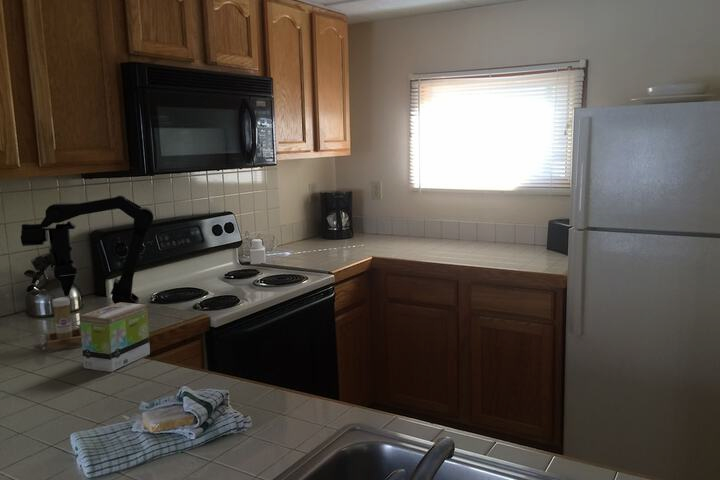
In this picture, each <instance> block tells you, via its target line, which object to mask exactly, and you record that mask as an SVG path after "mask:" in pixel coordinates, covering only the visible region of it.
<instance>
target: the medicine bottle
mask: <svg viewBox="0 0 720 480" xmlns="http://www.w3.org/2000/svg"><path fill="white" fill-rule="evenodd" d="M266 259H267V258H266V247H265V246H264V239H262V238H259V237H258V238H252V239H250V248H249V261H250V262H249V263H250V265H262V264H261V263H265V264H266Z"/></svg>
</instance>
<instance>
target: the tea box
mask: <svg viewBox="0 0 720 480" xmlns="http://www.w3.org/2000/svg"><path fill="white" fill-rule="evenodd" d="M148 316H149V315H148V304H142V303H139V304H133V303H122V302H119V303H116V304H114V303H113V304H111V305H108V306H105V307H101V308H98V309H95V310H93V311H90V312H86V313H84V314H80V315H79V320H80V322H79V323H80V328H81V338H82V346H81V351H82V362H83V365H82V366H83V368H84V369H87V370H94V371H101V372H109V373H113V372H115V371H116V370H117V369H120V368H122V367H125V366H126V365H129V364H131V363H133V362H135V361H137V360H140V359H142V358H144V357H147V356H149V355H150V354H151V350H150V349H151V348H150V346H151V345H150V344H151V343H150V332H149V320H148Z"/></svg>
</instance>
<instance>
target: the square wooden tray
mask: <svg viewBox="0 0 720 480" xmlns="http://www.w3.org/2000/svg"><path fill="white" fill-rule="evenodd" d="M72 336H73V337H71V338H65V339H59V340H57V335H56V331H53V332H46V333H45V342H46V347H47V351H48V353H51V352H57V351H63V350H68V349H73V348H74V349H75V348H82V338H81V327H79V328H78V327H77V328H72Z"/></svg>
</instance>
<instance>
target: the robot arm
mask: <svg viewBox="0 0 720 480" xmlns="http://www.w3.org/2000/svg"><path fill="white" fill-rule="evenodd" d="M117 209H118V210H120V211H122V212H123V213H124V214H126V215H127V216H129V217H131V218H132V219H133V227H132V228H133V229H132V238H131V241H130V244H129V248H128V251H127V255H126V259H125V262H124V266H123V269H122V273H121V275H120V278H118V279H117V278H114V279H113V284H112V288H111V291H110V293H109V295H112V296H111V301H112V302H113V304H116V303H119V302H122V303H133V304H140V297H139V296H137V295H136V294H135V293H134V292H133V287H134V275H135V272H136V268H137V265H138V262H139V258H140V254H141V251H142V247H143V244H144V241H145V237H146V236H147V234H148V232H149V229H150V228H151V225H153V221H154V216H155V215H154V214H155V213H154V212H153V210H152V209H151V208H149V207H147V206H146V207H144V206H143V207H142V206H141V205H139V204H137V203H136V202H133V201H131V200H130V199H128V198H126V196H124V195H117V196H112V197H107V198H100V199H94V200H89V201H88V200H87V201H83V202H56V203H53V204H51V205H49V206H48V207H47V208H46V210H45V217H44V218H43V220H41V223H23V224H21V231H20V242H21V245H22V247H31V246H32V247H34V246H35V247H36V246H44V245H45V242H48V241H49V248H48V251H49V252H46V253H44V254H41V255H39V256H35V257H34V258H32V259H30V262H31V264H32V267H33V268H34V270H35V271H36V272H38V271H40V270H42V269H43V268H46V267H47V266H50V267H49V268H50V269H51V271H52V273H53V277H54V278H55V279H57V280H58V282H59V284H60V288H61V290H62V292H63V295H64V297H69V296H70V294H71V290H72V286H73V284H74V282H75V279H76V276H77V274H78V273H77V266H76V265H74V260H73V256H72V254H73V253H72V250H73V249H72V248H73V247H72V245H71V243H72V242H71V234H70V230H74V229H75V228H77V226H76V225H75V224H74V223H72V221H71V219H74V218H76V217H79V216H82V215H89V214H95V213H100V212H105V211H112V210H117ZM65 221H67V222H66V223H63V222H65ZM53 224H55V226H54V227H50V226H51V225H53Z"/></svg>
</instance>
